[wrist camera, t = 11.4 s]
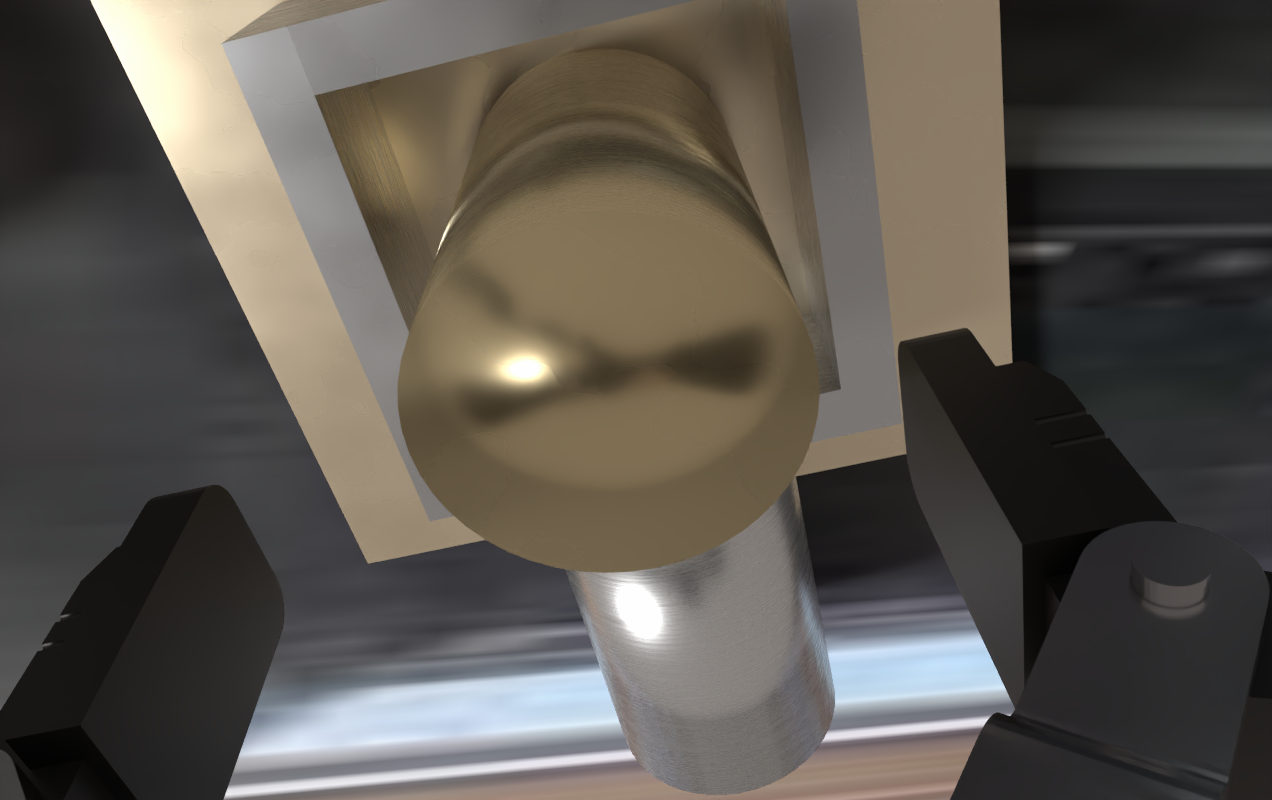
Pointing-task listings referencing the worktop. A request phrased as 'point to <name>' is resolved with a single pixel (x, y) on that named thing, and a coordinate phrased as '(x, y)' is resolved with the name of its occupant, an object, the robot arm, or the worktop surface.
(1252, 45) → the worktop surface
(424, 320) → the brass cylinder plug
